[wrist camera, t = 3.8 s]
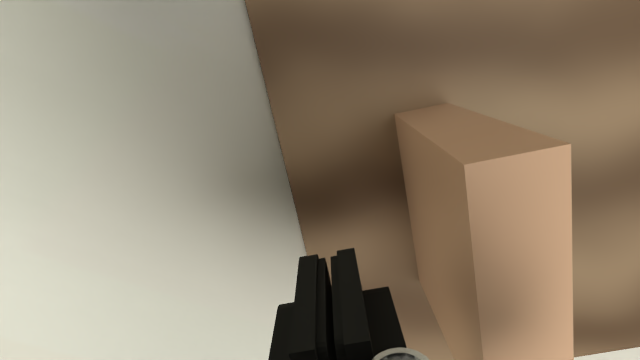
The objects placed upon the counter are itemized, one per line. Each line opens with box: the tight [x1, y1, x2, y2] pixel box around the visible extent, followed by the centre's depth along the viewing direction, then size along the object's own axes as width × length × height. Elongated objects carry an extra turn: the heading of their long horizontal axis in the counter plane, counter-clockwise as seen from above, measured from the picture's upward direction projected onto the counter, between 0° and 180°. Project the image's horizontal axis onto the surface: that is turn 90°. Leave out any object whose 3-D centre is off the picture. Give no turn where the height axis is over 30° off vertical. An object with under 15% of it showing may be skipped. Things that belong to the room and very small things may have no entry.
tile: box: [394, 103, 574, 360], centre depth 13 cm, size 8×2×8 cm, turn 12°
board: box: [245, 0, 640, 360], centre depth 17 cm, size 20×21×1 cm
